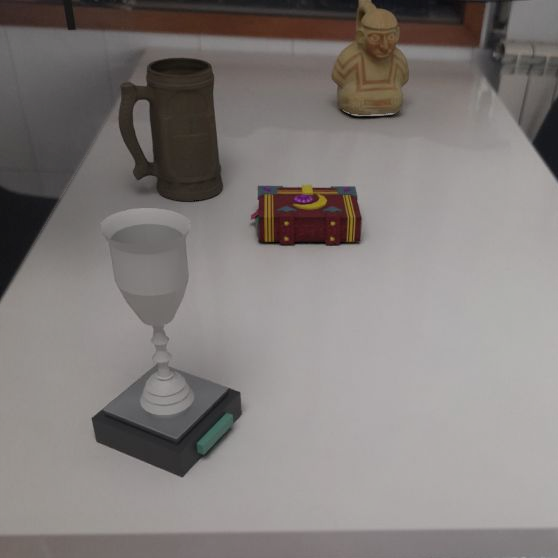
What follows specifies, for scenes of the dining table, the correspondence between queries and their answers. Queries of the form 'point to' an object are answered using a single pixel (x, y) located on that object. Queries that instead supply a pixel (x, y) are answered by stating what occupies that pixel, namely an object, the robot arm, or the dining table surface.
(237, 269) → the dining table surface
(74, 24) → the robot arm
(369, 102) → the ceramic vessel
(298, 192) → the decorative book
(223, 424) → the scale
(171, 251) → the chalice
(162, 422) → the scale pan
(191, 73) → the beer stein
